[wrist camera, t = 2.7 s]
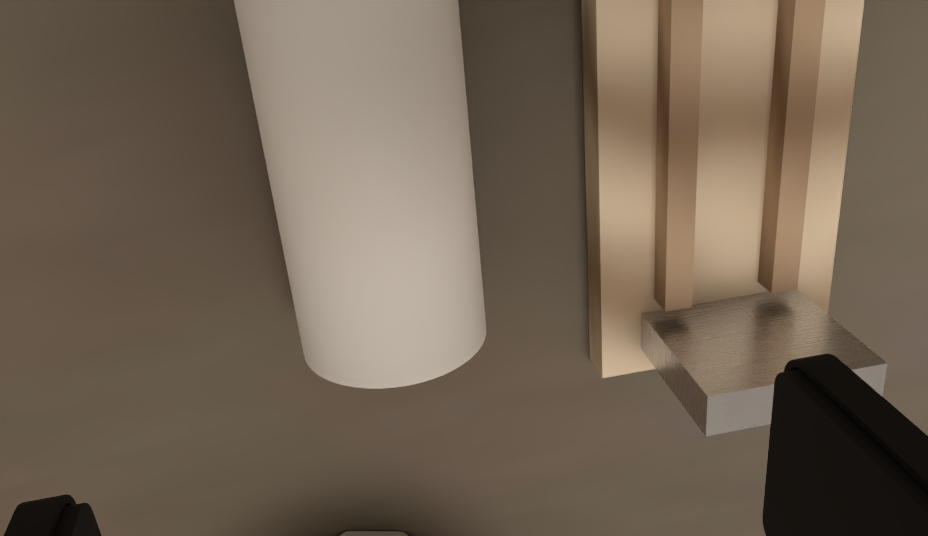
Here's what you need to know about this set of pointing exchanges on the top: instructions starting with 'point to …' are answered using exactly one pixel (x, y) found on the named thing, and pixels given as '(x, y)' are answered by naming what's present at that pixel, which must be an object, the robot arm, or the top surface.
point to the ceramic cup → (373, 533)
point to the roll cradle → (717, 194)
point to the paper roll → (370, 182)
